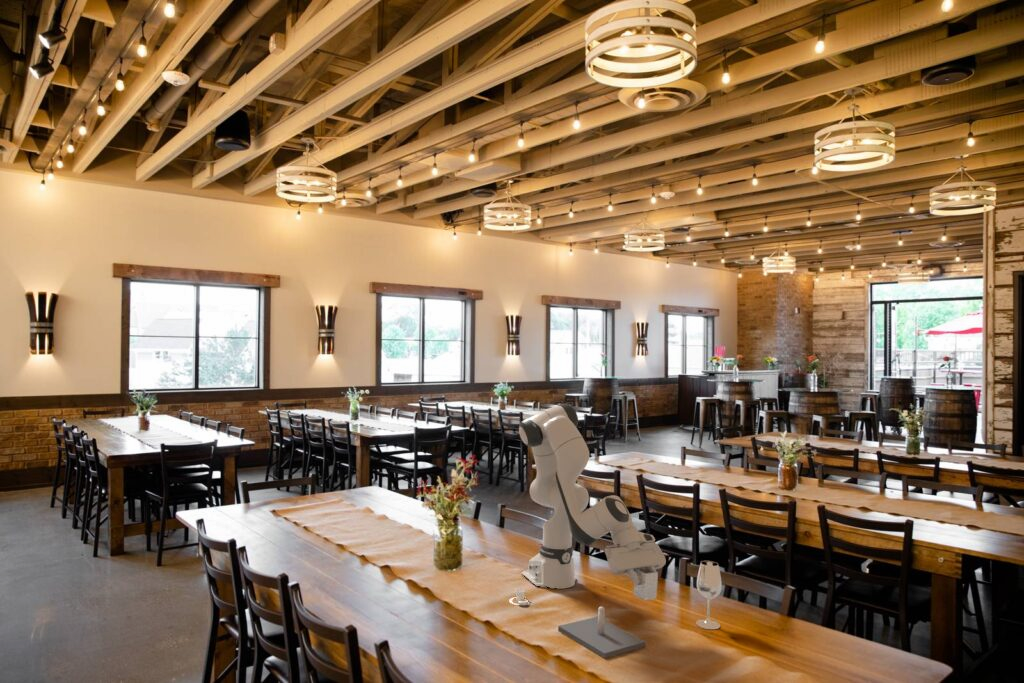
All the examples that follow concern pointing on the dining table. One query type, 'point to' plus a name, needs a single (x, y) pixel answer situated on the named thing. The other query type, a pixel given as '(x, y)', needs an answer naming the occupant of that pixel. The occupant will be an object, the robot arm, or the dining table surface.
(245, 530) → the dining table surface
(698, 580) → the wineglass
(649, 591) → the steel sleeve
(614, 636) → the shaft plate
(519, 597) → the teacup and saucer
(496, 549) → the dining table surface
